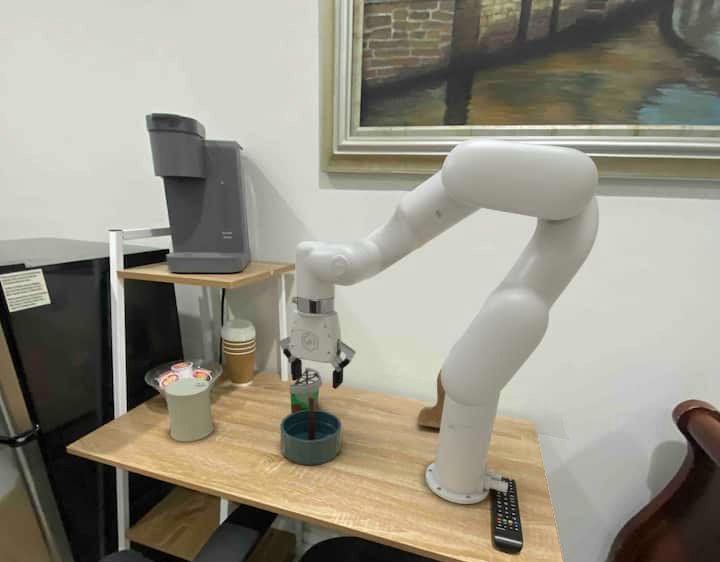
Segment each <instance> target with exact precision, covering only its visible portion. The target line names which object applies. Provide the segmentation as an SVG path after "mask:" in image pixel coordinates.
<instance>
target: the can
mask: <svg viewBox="0 0 720 562" xmlns="http://www.w3.org/2000/svg"><path fill="white" fill-rule="evenodd" d="M164 392H165V397H166V398H165V399H166V403H167V410H168V416H169V417H168V419H169V426H170V436H171V438H172V439H174V440H176V441H178V442H185V443H187V442H188V443H189V442H195V441H198V440H201V439H204V438H206V437H208V436H209V435H211V434H212V432H213V431H214V425H213V423H214V422H213V419H212V417H213V416H212V407H211V395H210V383H209V381H208V380H206V379H203V378H200V377H185V378H180V379H177V380H174V381H171V382H170V383H168V384H167V385H165V387H164Z"/></svg>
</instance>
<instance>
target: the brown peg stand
mask: <svg viewBox="0 0 720 562" xmlns="http://www.w3.org/2000/svg"><path fill="white" fill-rule="evenodd" d="M318 439H320V438H319V437H317V436H315V396H313V395H310V396H309V397H308V436H306V437H304V438H303V439H302V440H318Z"/></svg>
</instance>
